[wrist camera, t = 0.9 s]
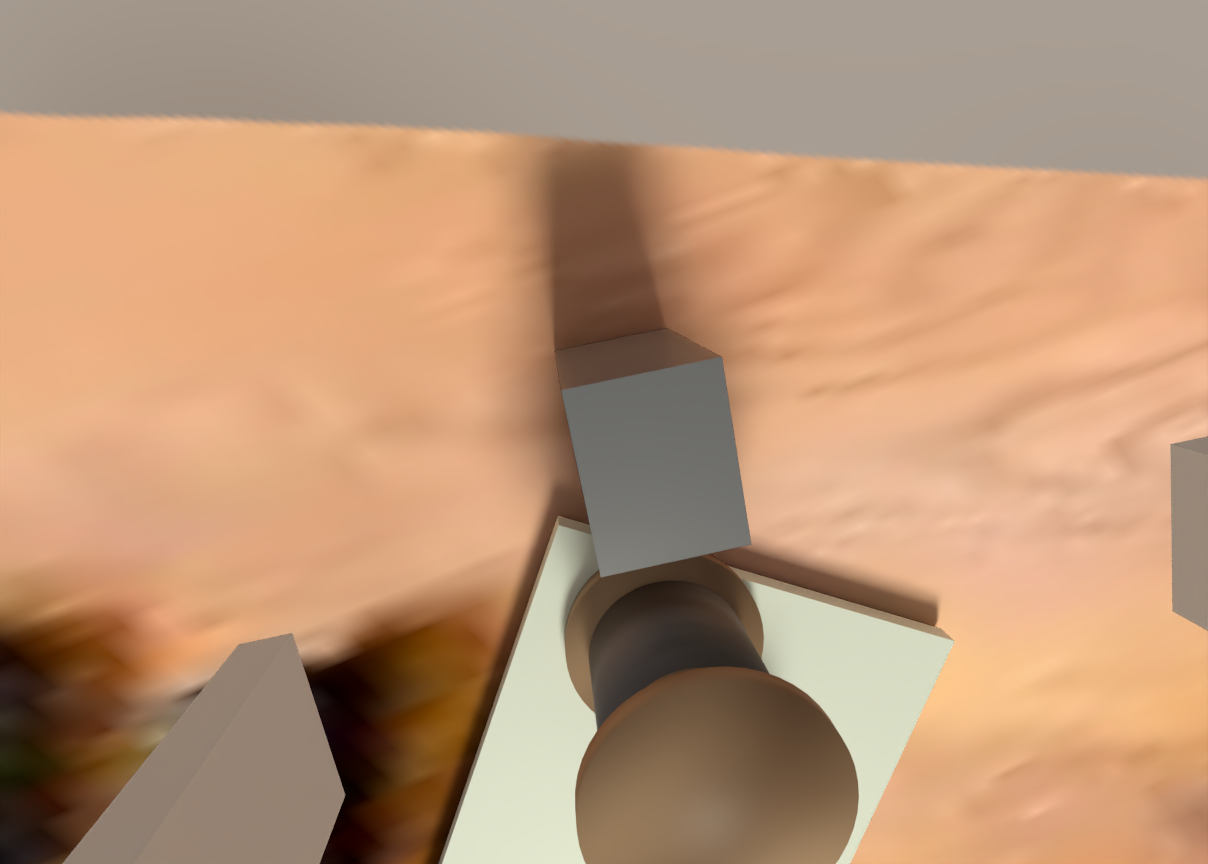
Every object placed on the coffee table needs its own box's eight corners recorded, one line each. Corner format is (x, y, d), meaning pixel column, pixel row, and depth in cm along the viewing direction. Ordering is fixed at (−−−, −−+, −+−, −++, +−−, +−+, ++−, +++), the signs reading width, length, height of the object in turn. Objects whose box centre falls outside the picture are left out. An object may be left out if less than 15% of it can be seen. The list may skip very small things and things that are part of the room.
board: (424, 903, 30) (421, 924, 29) (557, 515, 27) (558, 525, 26) (779, 976, 33) (786, 998, 32) (940, 628, 29) (954, 641, 28)
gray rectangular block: (582, 485, 27) (600, 577, 19) (554, 351, 26) (561, 390, 18) (690, 462, 27) (751, 544, 19) (666, 328, 26) (722, 356, 18)
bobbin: (539, 696, 27) (538, 900, 19) (601, 520, 26) (632, 651, 17) (717, 741, 28) (795, 954, 20) (786, 575, 27) (903, 724, 18)
